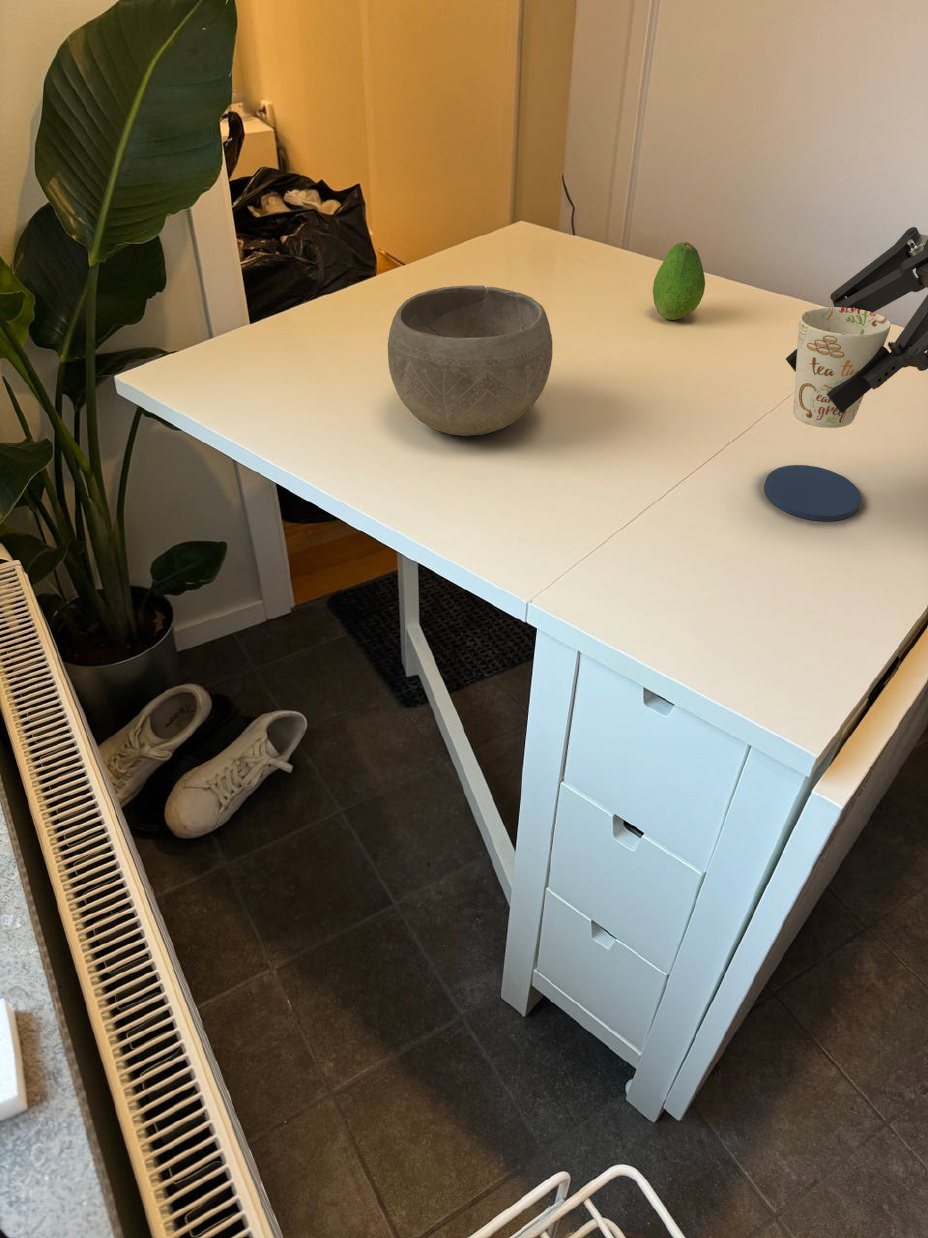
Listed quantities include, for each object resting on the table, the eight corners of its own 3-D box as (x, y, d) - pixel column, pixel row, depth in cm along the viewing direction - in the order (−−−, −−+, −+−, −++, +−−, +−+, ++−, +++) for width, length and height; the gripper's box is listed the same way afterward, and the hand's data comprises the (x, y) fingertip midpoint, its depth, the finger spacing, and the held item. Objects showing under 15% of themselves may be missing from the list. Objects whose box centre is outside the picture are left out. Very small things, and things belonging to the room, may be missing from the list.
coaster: (879, 505, 105) (881, 500, 104) (811, 531, 101) (813, 525, 100) (810, 462, 112) (812, 456, 112) (744, 484, 108) (745, 478, 107)
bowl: (387, 384, 126) (383, 278, 116) (533, 380, 127) (541, 275, 117) (393, 463, 110) (389, 347, 100) (559, 457, 112) (571, 343, 102)
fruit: (699, 311, 147) (713, 236, 139) (697, 330, 141) (712, 253, 134) (650, 305, 149) (662, 231, 141) (646, 324, 143) (658, 248, 135)
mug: (765, 416, 93) (783, 321, 87) (827, 383, 100) (847, 292, 94) (840, 440, 88) (864, 341, 82) (899, 403, 95) (926, 309, 89)
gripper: (1106, 274, 79) (884, 455, 86) (958, 203, 93) (780, 363, 101) (1085, 215, 74) (853, 411, 82) (933, 150, 89) (748, 322, 96)
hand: (813, 385), depth 91 cm, fingers closed on mug, 7 cm apart
